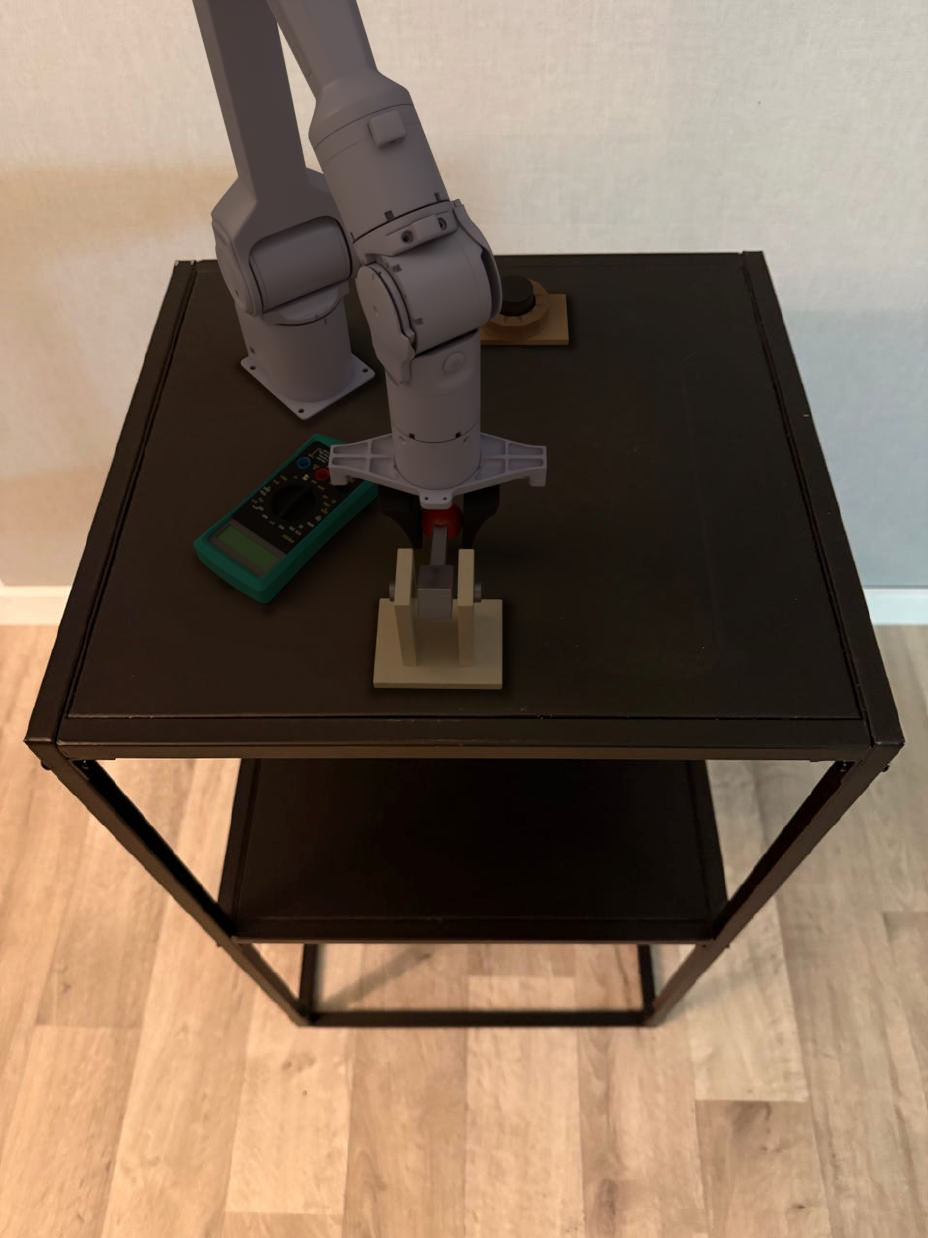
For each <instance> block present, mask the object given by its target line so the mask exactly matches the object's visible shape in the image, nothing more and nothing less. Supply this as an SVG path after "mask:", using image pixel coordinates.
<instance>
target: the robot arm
mask: <svg viewBox="0 0 928 1238" xmlns="http://www.w3.org/2000/svg"><path fill="white" fill-rule="evenodd" d="M191 1H192V5H193V9H194V13H195V17H196V21H197V25H198V28H199V32H200V36H201V39H202V43H203V47H204V51H205V55H206V58H207V61H208V63H207V64H208V66H209V67H208V68H209V70H210V74H211V77H212V81H213V85H214V90H215V94H216V97H217V100H218V104H219V108H220V112H221V116H222V120H223V124H224V127H225V132H226V135H227V138H228V143H229V146H230V150H231V154H232V158H233V162H234V165H235V170H236V172H237V177H236V179H235V180H234V181H233V182H232V184H231V185H230V186H229V188H228V189H227V190H226V192H225V193H224V194H223V195H222V196H221V198H220V199H219V200H218V201H217V203H216V204H215V206H214V207H213V208H212V210H211V212H210V217H211V219H212V220H211V223H210V225H211V228H212V233H213V237H214V241H215V246H214V250H215V257H216V260H217V263H218V267H219V269H220V272H221V275H222V277H223V281H224V282H225V285H226V287H227V289H228V291H229V293H230V295H231V297H232V299H233V300H234V307H235V311H236V315H237V318H238V322H239V326H240V330H241V333H242V336H243V341H244V345H245V347H246V352H247V355H248V356H246V357H244V358H242V359H241V361H240V365H241V366H242V368H243V369H245V370H246V371H247V372H248V373H249V374H250V375H251V376H252V377H253V378H255V380H256V381H258V382H259V383H260V384H261V385H262V386H264V387H265V388H266V389H267V390H268V391H269V392H270V393H271V394H272V395H274V397H276V398H277V399H278V400H279V401H280V402H281V403H283V404H284V405H285V406H286V407H287V408H288V409H289V410H290V411H291V412H292V413H293V414H295V415H296V416H297V417H298V418H299V419H300V420H302V421H307V420H309V419H311V418H313V417H314V416H316V415H317V414H319V413H320V412H322V411H323V410H326V409H327V408H328V407H330V406H331V405H333V404H334V403H336V402H337V401H339V400H341V399H342V398H344V397H346V396H347V395H349V394H350V393H352V392H353V391H355V390H356V389H359V388H360V387H361V386H362V385H364V384H366V383H368V381H371V380H372V379H374V378H375V376H376V374H375V373H376V372H375V371H374V370H373V369H372V368H371V367H369V366H368V365H367V364H366V363H365V362H364V361H362V360H361V359H360V358H359V357H357V356H356V355H355V354H354V353H352V349H351V348H352V347H351V341H350V333H349V328H348V322H347V321H348V320H347V315H346V314H347V313H346V308H345V303H344V302H345V300H344V297H345V296H347V295H348V294H350V292H351V291H350V285H349V280H352V279H354V280H355V287H356V292H357V295H358V298H359V302H360V305H361V308H362V310H363V313H364V316H365V319H366V321H367V324H368V327H369V330H370V331H369V332H370V336H371V342H372V347H373V349H374V353H375V355H376V358H377V359H378V361H379V362H380V363H381V365H382V366H383V367H384V374H385V384H386V393H387V401H388V410H389V411H388V412H389V417H390V427H391V433H387V434H383V435H380V436H375V437H372V438H368V439H365V440H361V441H355V442H351V443H347V444H342V445H331V449H330V457H329V465H328V467H329V472H330V477H331V481H332V485H346V484H347V483H348V478H361V479H364V481H365V480H368V481H371V482H374V483H378V496H377V498H376V499H377V506H378V508H379V510H380V512H381V514H382V515H384V516H386V517H388V518H390V519H391V520H392V521H394V522H395V523H396V524H397V525H398V526H399V527H400V528H401V530H402V531H403V532H404V534H405V535H406V537H407V539H408V541H409V542H410V544H411V547H412V549H413V550H422V549H423V540H424V532H423V530H422V528H421V525H420V514H421V511H422V509H423V508H425V509H448V508H449V507H451V505H452V501H453V498H454V497H456V496H460V495H463V497H462V499H463V503H462V513H463V526H462V537H461V539H462V541H461V546H462V547H461V549H473V544H474V541H475V538H476V536H477V535H478V532H479V531H480V529H481V527H482V526H483V525H484V523H485V522H486V521H488V519H490V518H491V517H492V516H495V515H496V514H497V511H498V509H499V507H500V502H501V501H500V500H501V484H503V483H507V482H511V481H515V480H528V484H529V486H531V487H546V483H547V481H546V480H547V471H548V465H547V464H548V463H547V462H548V461H547V459H548V458H547V446H546V445H534V444H526V443H522V442H517V441H513V440H510V439H506V438H503V437H500V436H495V435H492V434H488V433H485V432H481V345H480V330H481V328H480V326H483V325H485V324H486V323H487V322H488V320H493V319H495V318H496V317H497V316H498V315H499V313H500V310H501V307H502V286H501V280H500V277H501V275H500V272H499V269H498V265H497V263H496V260H495V257H494V256H495V255H494V252H493V250H492V247H491V246H490V243H489V242H488V240H487V238H486V237H485V235H484V233H483V232H482V230H481V229H480V228H479V226H478V225H476V223H475V222H474V221H473V220H472V219H471V217H470V215H469V214H468V211H467V210H466V206H465V204H463V203H462V201H461V199H459V198H456V199H454V200H453V199H452V200H451V199H450V196H449V193H448V191H447V188H446V185H445V182H444V180H443V177H442V175H441V172H440V170H439V166H438V165H437V161H436V159H435V157H434V154H433V151H432V149H431V145H430V144H429V141H428V139H427V136H426V133H425V130H424V128H423V125H422V123H421V119H420V117H419V114H418V111H417V109H416V107H415V104H414V102H413V99H412V96H411V93H410V91H409V90H408V89H407V88H406V87H405V86H404V85H401V84H400V83H398V82H396V81H395V80H394V79H393V80H392V79H391V78H390V77H388V76H386V75H384V74H383V73H382V72H381V71H379V69H378V67H377V64H376V60H375V56H374V53H373V51H372V48H371V43H370V40H369V38H368V35H367V34H368V33H367V31H366V28H365V25H364V21H363V18H362V15H361V11H360V7H359V5H358V1H357V0H191ZM280 31H281V33H282V35H283V37H284V39H285V42H286V43H287V45H288V47H289V49H290V51H291V53H292V55H293V58H294V59H295V61H296V63H297V65H298V67H299V69H300V71H301V73H302V76H303V77H304V79H305V81H306V83H307V85H308V87H309V89H310V92H311V94H312V95H313V97H314V100H315V106H314V110H313V114H312V118H311V121H310V124H309V128H308V133H307V135H308V137H307V138H308V140H309V143H310V145H311V148H312V150H313V152H314V155H315V157H316V159H317V162H318V164H319V167H320V170H321V171H322V172H321V171H318V170H315V169H312V168H310V167H307V165H306V160H305V154H304V150H303V149H304V148H303V145H302V140H301V135H300V129H299V125H298V120H297V115H296V111H295V105H294V100H293V95H292V90H291V85H290V80H289V75H288V70H287V65H286V60H285V59H286V58H285V55H284V50H283V49H284V48H283V45H282V40H281V39H282V38H281V34H280ZM252 368H253V369H252ZM300 411H303V412H300Z"/></svg>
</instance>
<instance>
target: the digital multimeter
mask: <svg viewBox="0 0 928 1238" xmlns="http://www.w3.org/2000/svg"><path fill="white" fill-rule="evenodd" d="M342 444H348V443H347V442H344V441H343V440H339V439H337V438H334V437H331V436H328V435H326V434H323V433H319V432H318V433H314V434H313V435H312V436H310V437H309V439H308V440H307V441H306V442H304V444H303V445H301V446H300V447H299V448H298V449H297V450H296V451H295V453H293V454H292V455H291V456H290V458H288V459H287V460H286V461H285V462H284V463H283V464H282V465H281V466H280V467H279V468H278V469H276V471H274V472H273V473H272V474H271V475H270V476H269V477H268V478H267V479H266V480H264V482H262V483H261V484H260V485H259V486H258V487H257V488H256V489H255V490H253V491H252V492H251V493H250V494H249V495H247V497H245V498H244V499H242V501H241V502H240V503H238V505H236V506H235V507H234V508H233V509H232V510H231V511H229V512H228V513H226V514H225V515H224V516H223V517H222V518H221V519H220V520H218V521H217V522H215V524H213V525H212V526H210V527H209V528H208V529H206V531H204V532H203V533H202V534H201V535H200V536H198V537H197V538H196V539H195V540H194V541H193V548H194V551H195V553H196V555H197V558H198V559H199V561H200V562H201V563H203V564H204V565H205V566H206V567H207V568H208V569H209V570H210V571H211V572H213V573H215V575H217V576H218V577H219V578H221V579H222V580H223V581H224V582H226V583H228V584H229V585H230V586H232V587H233V588H234V589H237V591H239V592H241V593H242V594H245V595H246V596H248V597H250V598H251V599H253V600H255V601H256V602H258V603H260V604H268V603H270V602H271V601H272V600H273V599H274V598H275V597H276V596H277V595H278V593H279V592H280V591H281V590H282V589H283V588H284V587H285V586H286V585H287V584H288V583H289V582H290V581H291V580H292V579H293V578H294V576H295V575H297V573H298V572H299V571H300V570H301V569H302V568H303V567H304V566H305V565H306V564H307V563H308V562H309V561H310V560H311V559H312V558H313V557H314V556H315V554H317V553H318V552H319V551H320V550H321V549H322V548H323V547H324V546H325V545H326V544H327V543H328V542H329V541H330V540H331V539H332V538H333V537H334V536H335V535H336V534H338V532H340V531H341V530H342V529H343V528H344V527H345V526H346V525H347V524H349V522H350V521H352V519H353V518H355V517H356V516H357V515H358V514H359V513H360V512H362V510H363V509H365V508H366V507H367V506H368V505H369V504H371V503H372V502H373V501H374V500H375V499H377V498H378V483H374V482H371V481H368V480H364V479H361V478H348V483H347V484H346V485H332V481H331V477H330V472H329V467H328V465H329V457H330V449H331V445H342Z"/></svg>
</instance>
